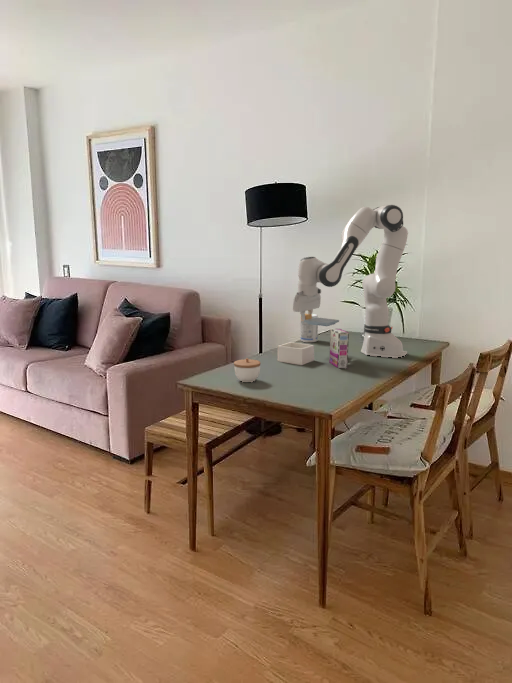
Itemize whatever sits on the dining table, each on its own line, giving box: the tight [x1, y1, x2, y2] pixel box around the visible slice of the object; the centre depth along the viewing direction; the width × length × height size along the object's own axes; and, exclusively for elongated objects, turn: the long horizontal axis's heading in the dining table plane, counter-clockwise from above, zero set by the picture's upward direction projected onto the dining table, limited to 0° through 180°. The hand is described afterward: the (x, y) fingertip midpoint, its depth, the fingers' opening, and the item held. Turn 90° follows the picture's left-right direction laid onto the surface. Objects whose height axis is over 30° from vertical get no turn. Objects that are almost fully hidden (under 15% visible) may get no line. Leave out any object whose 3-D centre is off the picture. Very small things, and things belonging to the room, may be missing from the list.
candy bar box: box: [329, 328, 350, 370], centre depth 237 cm, size 11×5×16 cm, turn 12°
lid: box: [300, 313, 340, 327], centre depth 255 cm, size 17×11×4 cm, turn 54°
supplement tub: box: [300, 313, 319, 343], centre depth 294 cm, size 10×10×15 cm
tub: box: [276, 341, 315, 366], centre depth 246 cm, size 13×11×8 cm
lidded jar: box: [233, 357, 261, 383], centre depth 215 cm, size 11×11×9 cm
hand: (306, 319), depth 259 cm, fingers closed on lid, 3 cm apart
